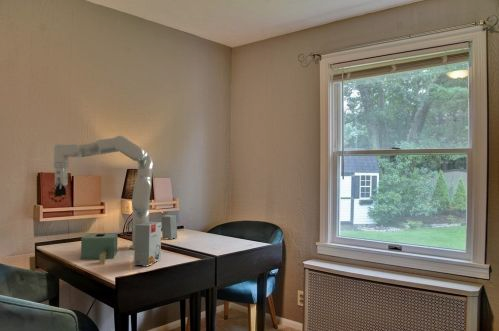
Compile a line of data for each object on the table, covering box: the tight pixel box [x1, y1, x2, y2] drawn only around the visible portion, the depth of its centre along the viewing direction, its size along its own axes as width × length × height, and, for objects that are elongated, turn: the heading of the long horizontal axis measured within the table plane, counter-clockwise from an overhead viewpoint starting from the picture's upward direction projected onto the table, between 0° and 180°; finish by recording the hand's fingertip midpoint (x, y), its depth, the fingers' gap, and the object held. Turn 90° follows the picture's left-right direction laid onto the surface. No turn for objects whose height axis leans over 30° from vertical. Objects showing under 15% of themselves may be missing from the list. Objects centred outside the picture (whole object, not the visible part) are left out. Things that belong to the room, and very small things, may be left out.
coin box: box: [80, 232, 119, 260], centre depth 214 cm, size 16×16×11 cm
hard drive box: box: [133, 221, 162, 265], centre depth 199 cm, size 16×8×20 cm, turn 170°
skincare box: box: [161, 214, 178, 240], centre depth 270 cm, size 8×7×16 cm
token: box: [99, 252, 107, 265], centre depth 198 cm, size 2×6×5 cm, turn 12°
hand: (60, 195), depth 228 cm, fingers open, 9 cm apart
